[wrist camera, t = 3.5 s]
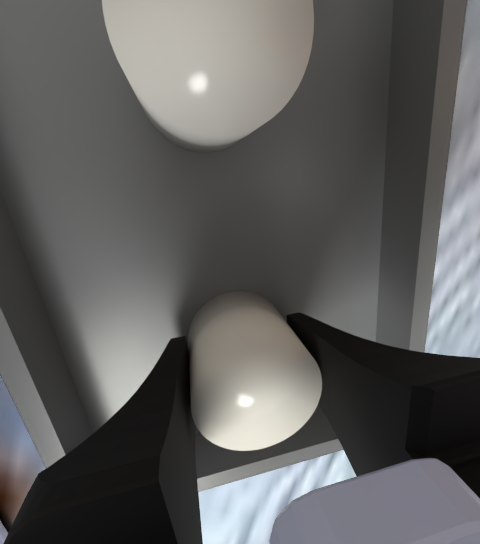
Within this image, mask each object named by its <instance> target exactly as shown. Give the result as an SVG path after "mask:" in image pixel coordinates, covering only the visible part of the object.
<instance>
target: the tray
mask: <svg viewBox="0 0 480 544" xmlns="http://www.w3.org/2000/svg"><path fill="white" fill-rule="evenodd" d="M466 6H467V0H313V9H314V34H313V41H312V49H311V53H310V57H309V61H308V64H307V67H306V70H305V73H304V76H303V78H302V80H301V82H300V84H299V86H298V88H297V90H296V91H295V93H294V94H293V96H292V98H291V99H290V100H289V102H288V103H287V104H286V105H285V106H284V108H283V109H282V110H281V111H280V112H279V113H278V114H276V115H275V116H274V117H273V118H272V119H270V120H269V121H268V122H266V123H265V124H263V125H262V126H260V127H259V128H257V129H256V130H255V131H253V132H252V133H250V134H249V135H247V136H246V137H244V138H243V139H241V140H240V141H239V142H237V143H236V144H234V145H232V146H230V147H229V148H227V149H224V150H221V151H216V152H209V153H202V152H194V151H190V150H187V149H184V148H182V147H179V146H177V145H176V144H174V143H172V142H171V141H169V140H168V139H167V138H165V137H164V136H163V135H162V134H161V133H160V132H159V131H158V130H157V129H156V128H155V127H154V126H153V124H152V123H151V122H150V120H149V119H148V117H147V116H146V114H145V112H144V110H143V108H142V106H141V104H140V102H139V100H138V98H137V96H136V95H135V93H134V91H133V89H132V87H131V85H130V83H129V81H128V79H127V77H126V75H125V73H124V71H123V70H122V68H121V66H120V64H119V62H118V60H117V58H116V55H115V53H114V50H113V48H112V45H111V43H110V40H109V36H108V32H107V29H106V25H105V20H104V14H103V8H102V0H0V375H1V377H2V379H3V381H4V383H5V385H6V387H7V389H8V391H9V393H10V395H11V397H12V399H13V401H14V403H15V406H16V408H17V410H18V412H19V414H20V416H21V418H22V420H23V422H24V424H25V426H26V428H27V430H28V432H29V434H30V436H31V439H32V441H33V443H34V445H35V447H36V449H37V451H38V453H39V455H40V457H41V459H42V461H43V463H44V465H45V467H46V468H48V467H49V466H51V465H52V464H54V463H55V462H56V461H58V460H59V459H61V458H62V457H63V456H65V455H66V454H68V453H69V452H70V451H72V450H73V449H74V448H76V447H77V446H78V445H80V444H81V443H82V442H83V441H85V440H86V439H87V438H88V437H90V436H91V435H92V434H93V433H94V432H96V431H97V430H98V429H99V428H100V427H101V426H103V425H104V424H105V423H106V422H107V421H108V420H109V419H110V418H111V417H112V416H113V415H114V414H115V413H116V412H117V411H118V410H119V409H120V408H121V407H122V406H124V404H125V403H126V402H127V401H128V400H129V399H130V398H131V397H132V396H133V395H134V393H135V392H136V391H137V390H138V388H139V387H140V386H141V385H142V383H143V382H144V380H145V379H146V378H147V376H148V375H149V374H150V372H151V371H152V369H153V368H154V366H155V364H156V363H157V361H158V360H159V358H160V356H161V355H162V353H163V351H164V349H165V348H166V346H167V344H168V342H169V341H170V339H172V338H177V337H181V336H186V340H187V345H188V332H189V327H190V324H191V322H192V320H193V318H194V316H195V314H196V313H197V312H198V310H199V309H200V308H201V307H202V306H203V305H204V304H205V303H207V302H208V301H209V300H211V299H212V298H214V297H216V296H218V295H221V294H224V293H227V292H232V291H249V292H253V293H256V294H259V295H261V296H263V297H265V298H266V299H268V300H269V301H270V302H271V303H272V304H273V305H274V306H275V308H276V309H277V310H278V312H279V313H280V314H281V316H282V317H283V318H284V320H285V321H286V322H287V317H286V315H288V314H293V313H298V312H300V313H303V314H305V315H308V316H310V317H312V318H314V319H317V320H319V321H321V322H323V323H325V324H328V325H330V326H332V327H335V328H337V329H339V330H342V331H344V332H347V333H350V334H352V335H355V336H358V337H361V338H364V339H367V340H370V341H374V342H377V343H381V344H384V345H388V346H393V347H397V348H402V349H407V350H412V351H418V352H424V351H425V343H426V335H427V326H428V318H429V310H430V302H431V294H432V285H433V277H434V269H435V261H436V252H437V244H438V236H439V228H440V220H441V211H442V203H443V195H444V187H445V178H446V170H447V162H448V154H449V145H450V137H451V129H452V121H453V113H454V104H455V96H456V88H457V80H458V71H459V63H460V55H461V47H462V39H463V30H464V22H465V14H466ZM340 450H344V449H343V447H342V445H341V443H340V441H339V439H338V437H337V436H336V434H335V432H334V430H333V428H332V426H331V424H330V422H329V421H328V419H327V417H326V416H325V414H324V412H323V411H322V409H321V408H320V406H319V405H317V407H316V409H315V411H314V412H313V414H312V416H311V417H310V418H309V420H308V421H307V422H306V423H305V424H304V425H303V426H302V427H301V428H300V429H299V430H298V431H297V432H295V433H294V434H293V435H291V436H290V437H288V438H287V439H285V440H283V441H281V442H279V443H277V444H275V445H272V446H269V447H266V448H262V449H258V450H251V451H238V450H230V449H226V448H223V447H220V446H218V445H216V444H214V443H212V442H210V441H209V440H208V439H206V438H205V437H204V436H203V435H202V434H201V433H200V431H199V430H198V429H197V427H196V438H195V456H196V473H197V485H198V492H200V491H203V490H207V489H210V488H214V487H217V486H221V485H224V484H227V483H231V482H234V481H238V480H241V479H245V478H248V477H251V476H255V475H258V474H262V473H265V472H268V471H272V470H275V469H279V468H282V467H286V466H289V465H292V464H296V463H299V462H303V461H306V460H310V459H313V458H316V457H320V456H323V455H327V454H330V453H334V452H337V451H340Z"/></svg>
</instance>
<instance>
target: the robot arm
mask: <svg viewBox="0 0 480 544" xmlns="http://www.w3.org/2000/svg"><path fill="white" fill-rule="evenodd" d="M286 317H287V324H288V325H289V326H290V327H291V329H292V330H293V331H294V333H295V334H296V335H297V337H298V338H299V339H300V341H301V342H302V343H303V345H304V346H305V347H306V349H307V350H308V351H309V353H310V354H311V355H312V357H313V358H314V360H315V361H316V363H317V365H318V367H319V369H320V372H321V376H322V391H321V397H320V400H319V403H318V405H319V406H320V408H321V409H322V411H323V412H324V414H325V416H326V417H327V419H328V421H329V422H330V424H331V426H332V428H333V430H334V432H335V434H336V436H337V437H338V439H339V441H340V443H341V445H342V447H343V449H344V451H345V453H346V455H347V457H348V459H349V461H350V463H351V465H352V467H353V469H354V472H355V474H356V476H357V477H354V478H351V479H348V480H344V481H341V482H338V483H335V484H331V485H328V486H325V487H322V488H319V489H315V490H312V491H311V492H309V493H307V494H305V495H303V496H301V497H299V498H297V499H295V500H293V501H291V502H290V503H289V505H288V506H287V507H286V508H285V509H284V510H283V511H282V512H281V513H280V514H279V515H278V516H277V518H276V520H275V522H274V525H273V529H272V533H271V537H270V541H269V542H270V544H480V358H472V357H459V356H446V355H438V354H431V353H424V352H418V351H412V350H407V349H402V348H397V347H393V346H388V345H384V344H381V343H377V342H374V341H370V340H367V339H364V338H361V337H358V336H355V335H352V334H350V333H347V332H344V331H342V330H339V329H337V328H335V327H332V326H330V325H328V324H325V323H323V322H321V321H319V320H317V319H314V318H312V317H310V316H308V315H305V314H303V313H300V312H298V313H293V314H288V315H286ZM195 438H196V425H195V423H194V420H193V417H192V412H191V396H190V375H189V351H188V345H187V340H186V336H181V337H177V338H172V339H170V341H169V342H168V344H167V346H166V348H165V349H164V351H163V353H162V355H161V356H160V358H159V360H158V361H157V363H156V364H155V366H154V368H153V369H152V371H151V372H150V374H149V375H148V376H147V378H146V379H145V380H144V382H143V383H142V385H141V386H140V387H139V388H138V390H137V391H136V392H135V393H134V395H133V396H132V397H131V398H130V399H129V400H128V401H127V402H126V403H125V404H124V406H122V407H121V408H120V409H119V410H118V411H117V412H116V413H115V414H114V415H113V416H112V417H111V418H110V419H109V420H108V421H107V422H106V423H105V424H104V425H103V426H101V427H100V428H99V429H98V430H97V431H96V432H94V433H93V434H92V435H91V436H90V437H88V438H87V439H86V440H85V441H83V442H82V443H81V444H80V445H78V446H77V447H76V448H74V449H73V450H72V451H70V452H69V453H68V454H66V455H65V456H63V457H62V458H61V459H59V460H58V461H56V462H55V463H54V464H52V465H51V466H49V467H48V468H46V469H45V470H43V471H42V472H40V473H39V474H38V476H37V478H36V479H35V481H34V483H33V485H32V487H31V488H30V490H29V492H28V494H27V496H26V498H25V500H24V502H23V504H22V506H21V508H20V510H19V512H18V514H17V517H16V519H15V521H14V523H13V525H12V527H11V529H10V531H9V533H8V532H7V531H6V529H5V527H4V526H3V524H2V522H1V521H0V544H203V543H202V532H201V521H200V509H199V497H198V485H197V473H196V456H195Z"/></svg>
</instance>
